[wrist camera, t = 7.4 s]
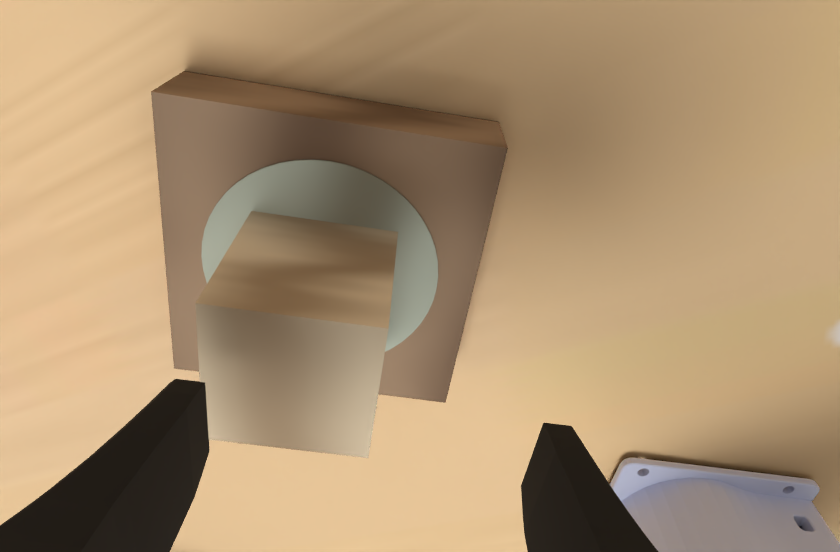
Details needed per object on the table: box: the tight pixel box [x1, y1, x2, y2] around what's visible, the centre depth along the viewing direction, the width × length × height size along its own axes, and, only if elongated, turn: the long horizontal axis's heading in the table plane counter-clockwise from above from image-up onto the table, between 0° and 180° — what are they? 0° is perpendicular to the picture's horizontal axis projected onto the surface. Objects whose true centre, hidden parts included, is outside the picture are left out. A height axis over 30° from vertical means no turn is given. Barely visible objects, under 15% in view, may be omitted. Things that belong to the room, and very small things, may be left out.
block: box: [195, 211, 398, 458], centre depth 17 cm, size 4×4×5 cm
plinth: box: [151, 71, 508, 402], centre depth 20 cm, size 10×10×3 cm
